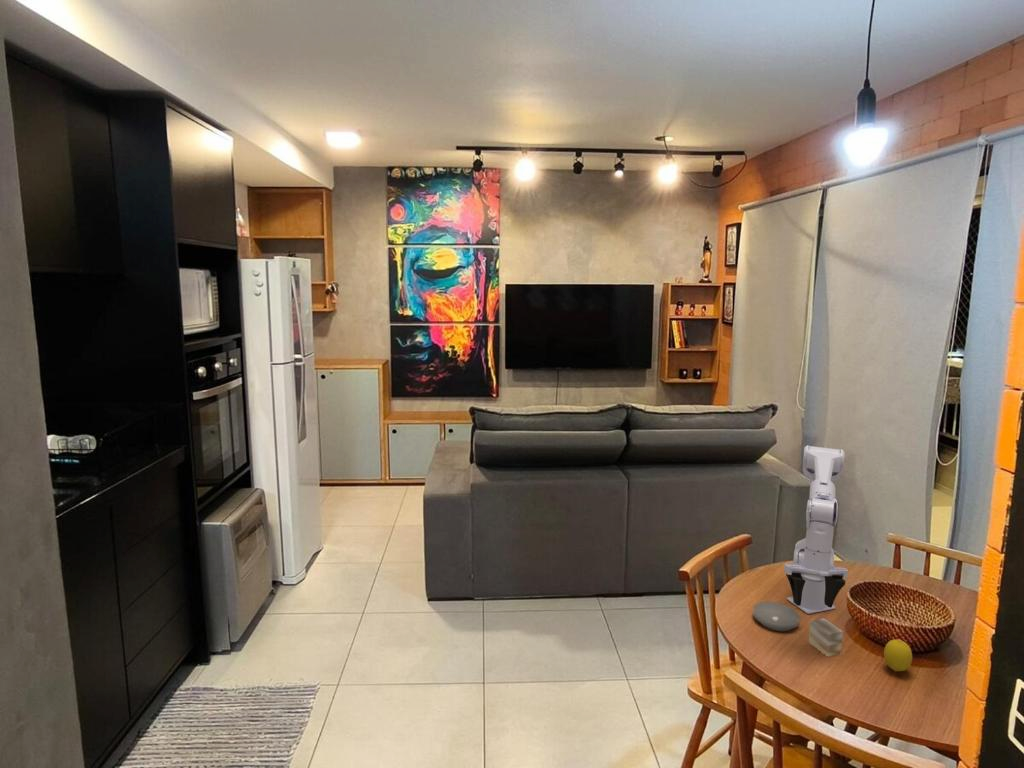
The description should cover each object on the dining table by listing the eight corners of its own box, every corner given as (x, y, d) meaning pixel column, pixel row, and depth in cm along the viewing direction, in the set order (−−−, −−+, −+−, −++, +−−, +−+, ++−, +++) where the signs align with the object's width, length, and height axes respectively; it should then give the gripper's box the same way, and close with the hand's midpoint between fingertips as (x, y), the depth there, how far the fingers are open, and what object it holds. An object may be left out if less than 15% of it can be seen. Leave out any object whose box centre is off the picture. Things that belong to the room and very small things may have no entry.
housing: (821, 639, 155) (823, 617, 154) (840, 653, 149) (843, 631, 148) (808, 642, 154) (810, 620, 153) (827, 656, 148) (829, 634, 147)
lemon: (907, 667, 144) (912, 636, 143) (911, 681, 139) (916, 649, 138) (880, 661, 147) (884, 630, 145) (883, 674, 142) (887, 643, 140)
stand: (777, 607, 169) (778, 598, 169) (807, 629, 159) (808, 620, 159) (744, 613, 166) (744, 605, 166) (772, 636, 156) (773, 627, 155)
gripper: (796, 552, 143) (790, 610, 144) (857, 556, 144) (851, 613, 144) (782, 543, 150) (776, 597, 151) (840, 546, 151) (835, 601, 151)
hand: (812, 604), depth 148 cm, fingers open, 7 cm apart
